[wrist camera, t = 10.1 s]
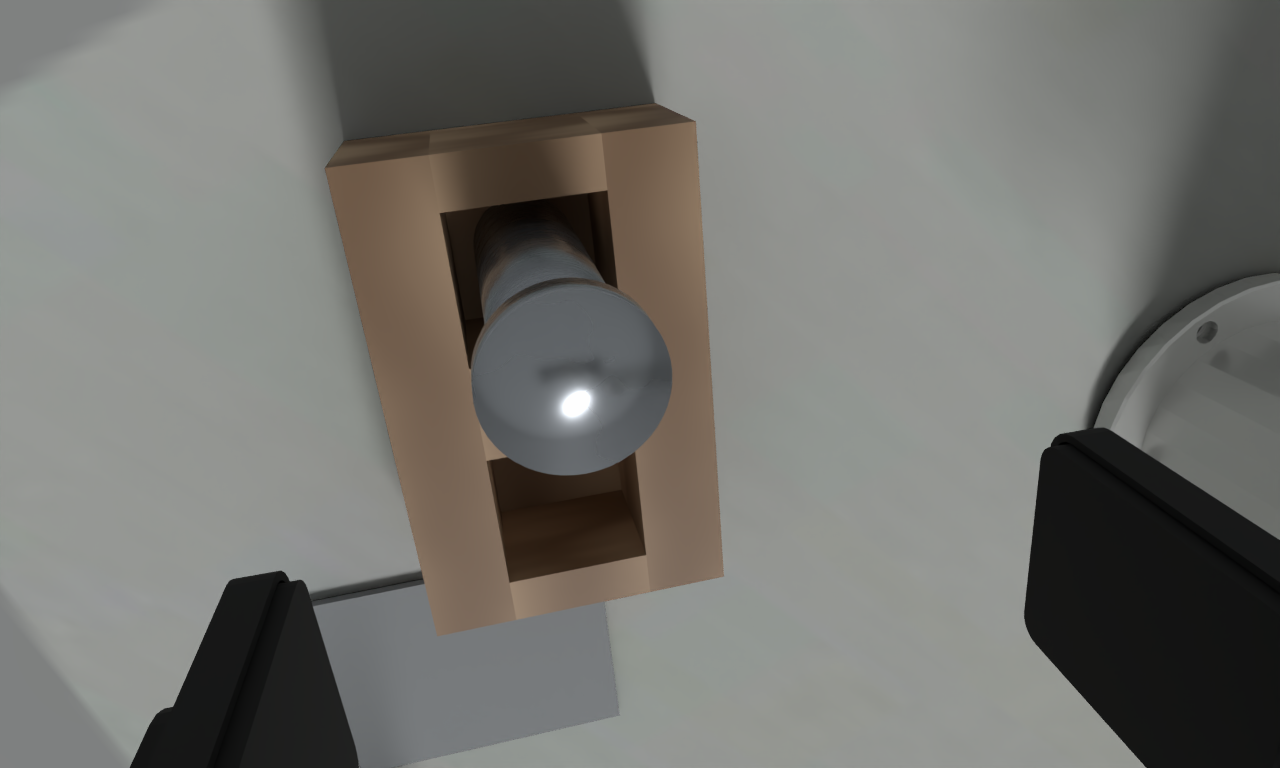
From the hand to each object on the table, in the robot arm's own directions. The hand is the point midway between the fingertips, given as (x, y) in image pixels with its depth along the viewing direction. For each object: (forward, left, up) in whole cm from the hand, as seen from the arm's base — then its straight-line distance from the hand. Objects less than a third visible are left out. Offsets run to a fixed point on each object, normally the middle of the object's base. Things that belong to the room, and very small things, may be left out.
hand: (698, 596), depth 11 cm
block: (+1, +3, -18) cm, 18 cm away
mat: (+5, +15, -18) cm, 24 cm away
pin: (+1, 0, -17) cm, 17 cm away
